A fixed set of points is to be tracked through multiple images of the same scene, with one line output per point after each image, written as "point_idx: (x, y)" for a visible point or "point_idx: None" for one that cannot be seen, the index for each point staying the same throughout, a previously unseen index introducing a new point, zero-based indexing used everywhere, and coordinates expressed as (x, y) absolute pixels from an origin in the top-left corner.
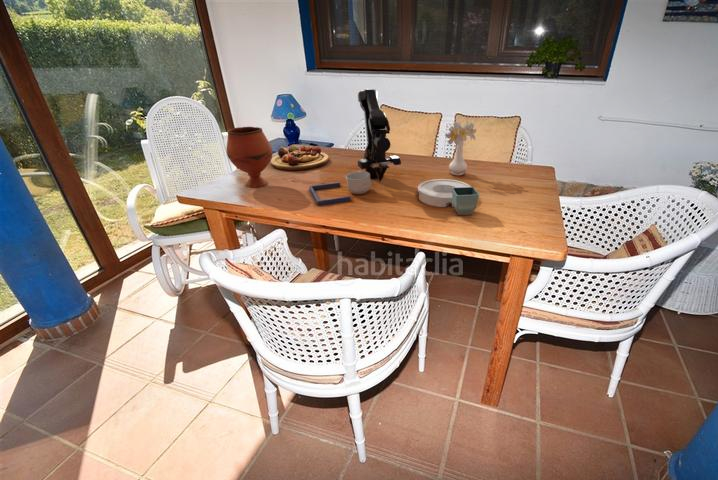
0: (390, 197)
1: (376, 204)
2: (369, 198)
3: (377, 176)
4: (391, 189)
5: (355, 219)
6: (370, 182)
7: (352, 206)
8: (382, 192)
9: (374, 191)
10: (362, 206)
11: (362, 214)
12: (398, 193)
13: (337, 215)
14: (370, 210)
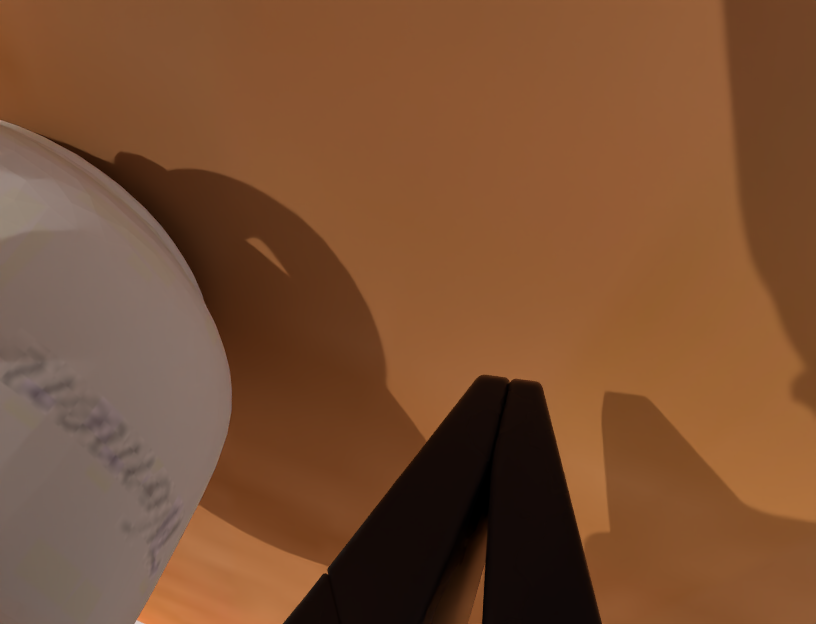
0: None
1: (318, 578)
2: (250, 474)
3: (399, 482)
4: (750, 404)
5: (152, 615)
6: (190, 514)
7: None
8: None
9: (353, 336)
10: (180, 546)
11: (193, 606)
12: (739, 551)
13: None
14: (254, 604)
